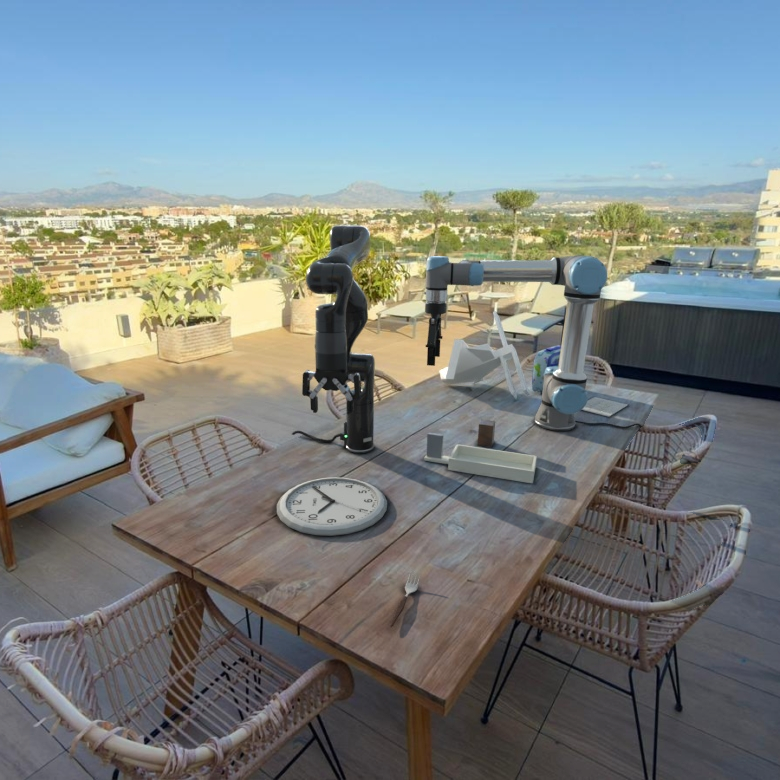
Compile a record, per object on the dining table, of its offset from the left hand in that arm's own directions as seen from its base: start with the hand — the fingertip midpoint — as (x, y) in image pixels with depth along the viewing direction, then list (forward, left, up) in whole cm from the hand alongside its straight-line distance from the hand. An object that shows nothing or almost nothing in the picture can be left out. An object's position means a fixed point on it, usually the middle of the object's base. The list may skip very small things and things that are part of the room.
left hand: (332, 412), depth 129 cm
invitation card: (+44, +133, -29) cm, 143 cm away
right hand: (-6, +68, -2) cm, 69 cm away
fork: (+32, -20, -29) cm, 48 cm away
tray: (+21, +49, -29) cm, 60 cm away
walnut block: (+17, +67, -29) cm, 75 cm away
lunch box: (+20, +146, -29) cm, 150 cm away
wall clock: (-3, +4, -29) cm, 29 cm away
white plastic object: (-8, +123, -29) cm, 127 cm away
